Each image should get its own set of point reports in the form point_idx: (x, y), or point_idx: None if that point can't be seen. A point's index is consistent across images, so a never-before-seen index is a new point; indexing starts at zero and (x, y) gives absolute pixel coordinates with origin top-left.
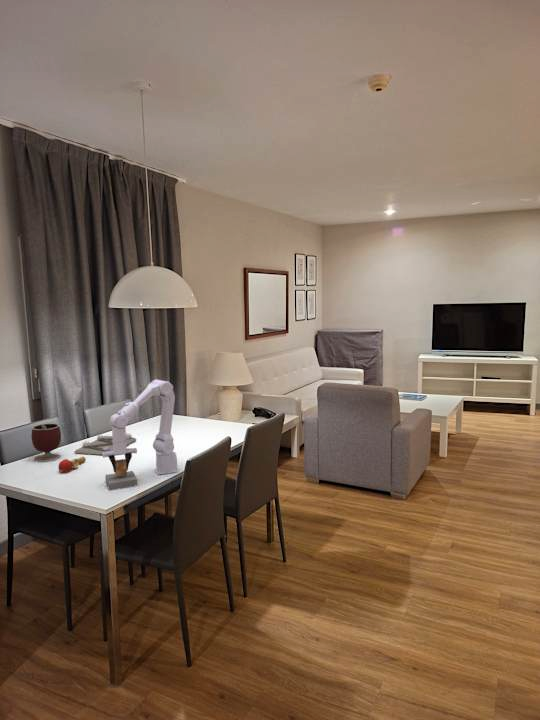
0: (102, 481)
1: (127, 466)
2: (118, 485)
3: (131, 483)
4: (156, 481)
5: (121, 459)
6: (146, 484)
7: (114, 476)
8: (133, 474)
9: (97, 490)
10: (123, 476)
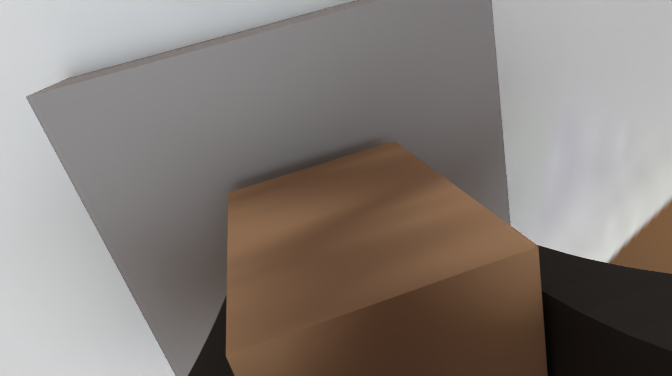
0: (12, 75)
1: None
2: None
3: None
4: (651, 182)
5: (450, 287)
6: (556, 248)
7: (224, 203)
8: (491, 154)
9: (69, 369)
10: None
